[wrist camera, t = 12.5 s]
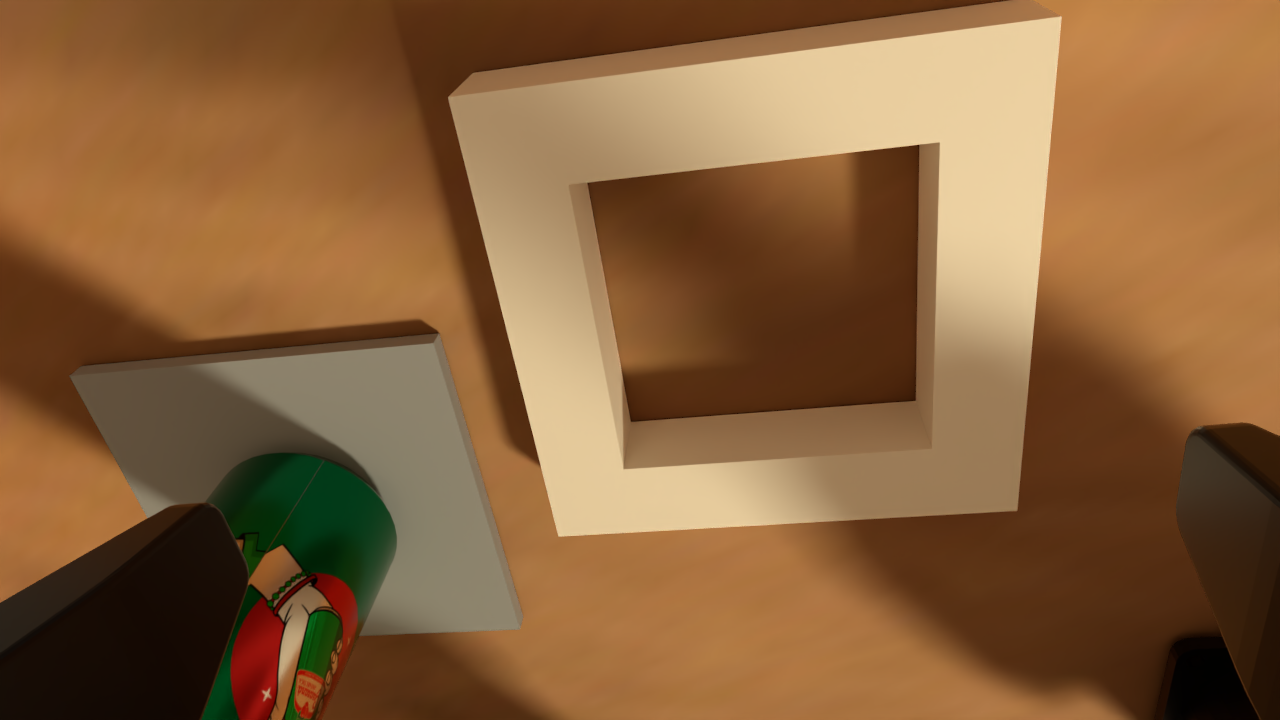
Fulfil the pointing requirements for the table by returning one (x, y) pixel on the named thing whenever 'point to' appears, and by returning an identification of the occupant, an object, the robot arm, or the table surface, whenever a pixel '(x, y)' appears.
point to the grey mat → (326, 456)
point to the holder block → (755, 133)
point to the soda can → (298, 582)
